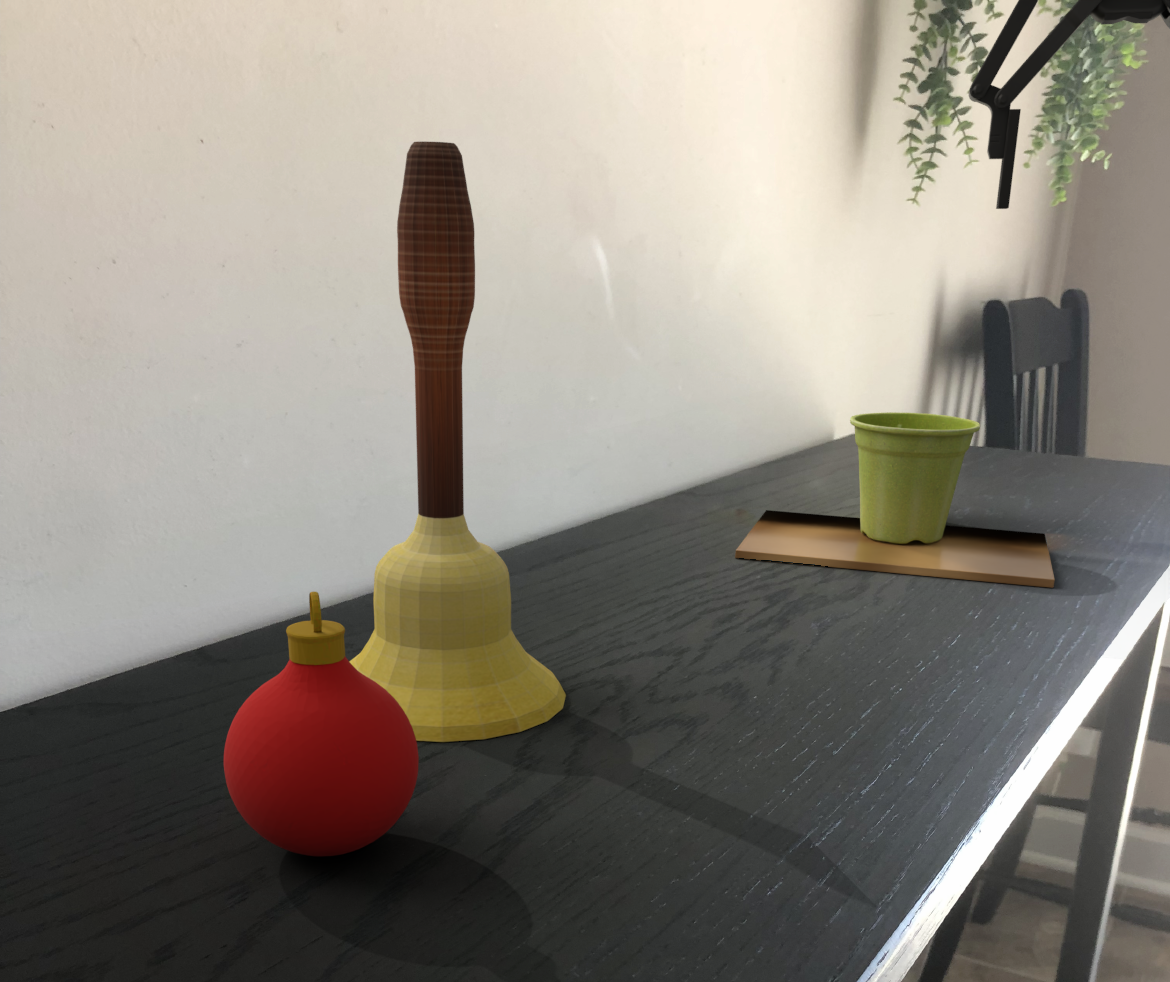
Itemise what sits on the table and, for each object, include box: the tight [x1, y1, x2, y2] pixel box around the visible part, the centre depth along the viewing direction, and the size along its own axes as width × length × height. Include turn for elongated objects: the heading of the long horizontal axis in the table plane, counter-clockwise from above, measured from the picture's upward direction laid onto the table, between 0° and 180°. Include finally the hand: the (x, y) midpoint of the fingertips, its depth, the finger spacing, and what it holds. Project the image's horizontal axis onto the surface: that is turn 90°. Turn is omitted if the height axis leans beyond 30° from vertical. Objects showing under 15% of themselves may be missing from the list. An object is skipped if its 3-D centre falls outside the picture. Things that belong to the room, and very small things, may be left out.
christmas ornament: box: [223, 591, 420, 857], centre depth 46 cm, size 7×7×10 cm
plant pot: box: [849, 411, 981, 544], centre depth 95 cm, size 9×9×9 cm
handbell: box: [348, 141, 567, 743], centre depth 59 cm, size 12×12×25 cm
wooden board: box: [734, 509, 1056, 589], centre depth 97 cm, size 22×18×1 cm
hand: (1098, 208), depth 94 cm, fingers open, 13 cm apart
